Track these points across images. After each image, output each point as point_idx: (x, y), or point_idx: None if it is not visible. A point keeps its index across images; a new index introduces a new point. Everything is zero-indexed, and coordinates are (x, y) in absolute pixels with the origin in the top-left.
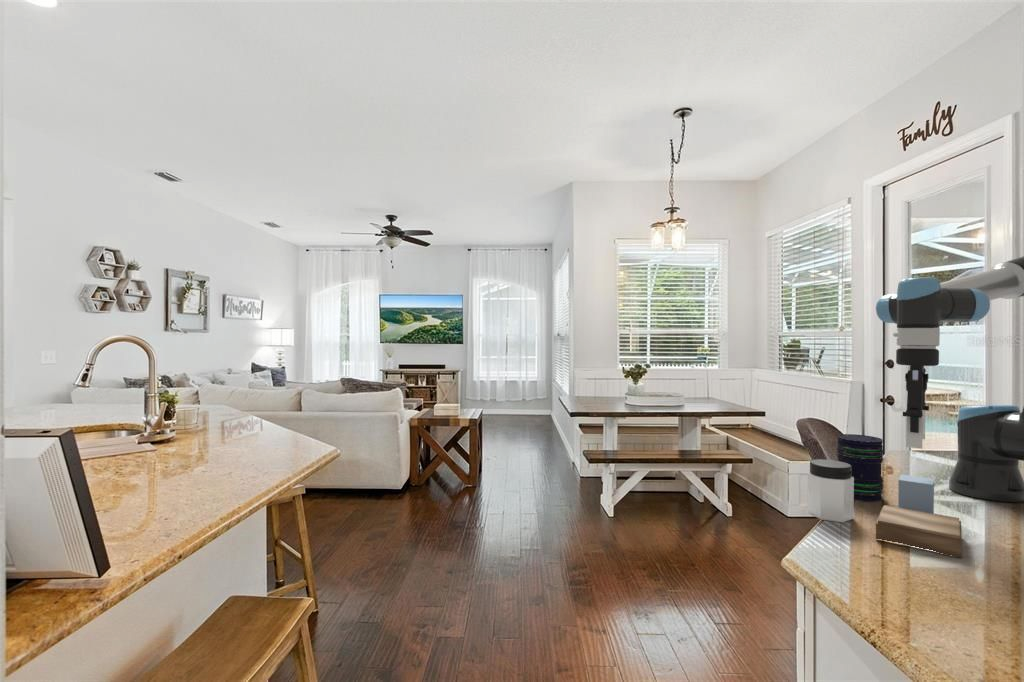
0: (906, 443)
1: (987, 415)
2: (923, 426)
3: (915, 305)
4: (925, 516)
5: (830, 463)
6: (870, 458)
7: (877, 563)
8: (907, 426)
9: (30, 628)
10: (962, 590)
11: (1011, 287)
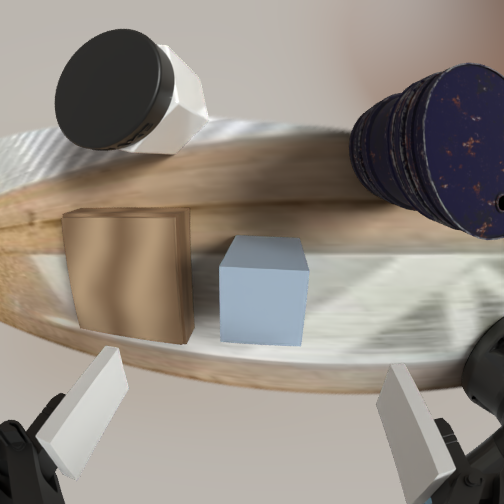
0: (98, 354)
1: None
2: (391, 442)
3: None
4: (145, 294)
5: (98, 86)
6: (402, 184)
7: (15, 221)
8: (61, 404)
9: None
10: (17, 297)
11: None
